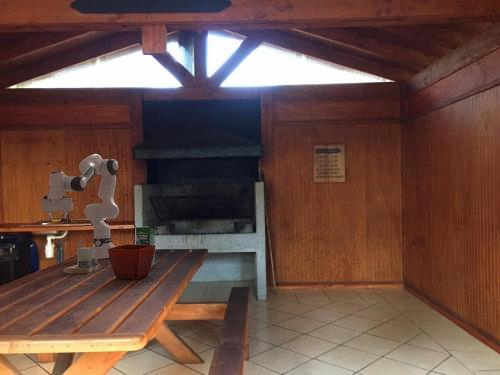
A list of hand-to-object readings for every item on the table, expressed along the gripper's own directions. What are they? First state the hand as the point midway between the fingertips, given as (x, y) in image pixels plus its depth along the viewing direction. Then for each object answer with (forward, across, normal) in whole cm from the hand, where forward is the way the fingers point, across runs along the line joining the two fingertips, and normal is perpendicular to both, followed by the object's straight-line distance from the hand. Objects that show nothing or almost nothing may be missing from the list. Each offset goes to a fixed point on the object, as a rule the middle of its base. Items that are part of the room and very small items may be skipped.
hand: (57, 218), depth 260 cm
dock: (+31, -21, +7) cm, 38 cm away
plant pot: (+31, -60, +22) cm, 71 cm away
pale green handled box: (+29, -22, +7) cm, 37 cm away
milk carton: (+31, -53, -12) cm, 63 cm away
